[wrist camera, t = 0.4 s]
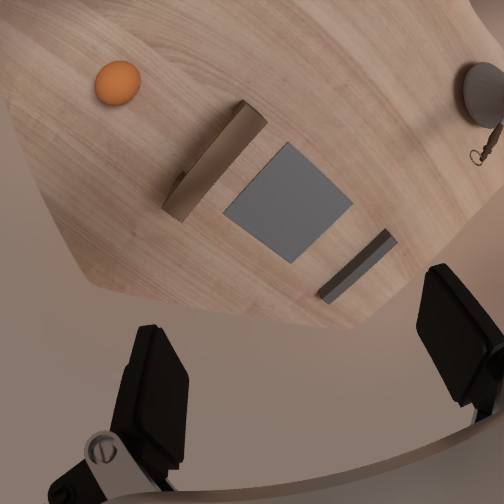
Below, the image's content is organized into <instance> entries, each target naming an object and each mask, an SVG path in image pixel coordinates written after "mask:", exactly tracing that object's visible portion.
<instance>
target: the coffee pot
mask: <svg viewBox="0 0 504 504" xmlns="http://www.w3.org/2000/svg"><path fill="white" fill-rule="evenodd" d="M463 95H464V101H465V105H466V108H467V110H468V112H469V114H470V115H471V116H472V118H473V119H474V120H475V121H476V123H478V124H479V125H481V126H482V127H484V128H488V129H492V128H495V129H494V131H493V132H492V133H491V135H490V136H489V139H488V142H487V145H485V146H484V147H483V150H484V151H483V152H482V153H481V154H480V153H479V152H478V151H476V150H471V152H472V151H475V152H477V153H478V154H479V155H480V161H481V162H482V163H483V161H484V160H485V159H486V158H487V155H488V154H491V152H492V150H491V149H492V148H493V147H494V145H495V144H496V143H497V141H498V139H499V136H500V134H501V131H502V129H503V126H504V72H502V71H501V70H500V69H498V68H497V67H496V66H494V65H492V64H490V63H486V62H481V63H478V64H476V65H474V66H473V67H472V68H471V69H470V70H469V71H468V73H467V74H466V76H465V80H464V86H463ZM471 152H470V158H471ZM471 160H472V162H473V163H474V164H475V165H477V166H481V165H482V163H481V164H479V165H478V164H476V163H475V162H474V161H473V159H472V158H471Z"/></svg>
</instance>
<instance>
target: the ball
mask: <svg viewBox="0 0 504 504" xmlns="http://www.w3.org/2000/svg"><path fill="white" fill-rule="evenodd" d="M140 83H141V78H140V74H139V71H138V70H137V68H136V67H135V66H134V65H133V64H131V63H129V62H127V61H114V62H111V63H109V64H107V65H106V66H104V67H103V68H102V69H101V70H100V72H99V73H98V75H97V77H96V80H95V91H96V94H97V96H98V97H99V98H100V99H101V100H102V101H103V102H105V103H107V104H110V105H121V104H124V103H126V102H128V101H130V100H131V99H132V98H133V97H134V96H135V95H136V93H137V92H138V90H139V87H140Z"/></svg>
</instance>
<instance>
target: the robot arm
mask: <svg viewBox="0 0 504 504" xmlns="http://www.w3.org/2000/svg"><path fill="white" fill-rule="evenodd" d="M416 329H417V333H418V335H419V337H420V338H421V340H422V342H423V344H424V345H425V347H426V349H427V351H428V353H429V354H430V356H431V358H432V360H433V362H434V364H435V366H436V367H437V369H438V371H439V373H440V375H441V377H442V379H443V381H444V383H445V385H446V386H447V389H448V391H449V392H450V395H451V397H452V399H453V400H454V401H455V402H458V403H459V405H460V407H463V406H465V405H468V404H470V403H472V404H473V406H474V407H475V409H474V413H473V417H472V422H471V425H470V426H469V427H467V428H464V429H462V430H460V431H458V432H456V433H454V434H452V435H449V436H447V437H445V438H442V439H440V440H438V441H435V442H433V443H430V444H428V445H425V446H423V447H420V448H418V449H415V450H412V451H410V452H407V453H404V454H401V455H399V456H396V457H393V458H390V459H387V460H384V461H380V462H377V463H374V464H370V465H367V466H364V467H360V468H357V469H353V470H349V471H345V472H341V473H336V474H332V475H328V476H323V477H319V478H313V479H308V480H303V481H297V482H291V483H285V484H278V485H271V486H262V487H253V488H243V489H229V490H212V491H178V490H177V489H176V488H175V487H174V486H173V485H172V483H171V482H170V481H169V480H168V479H167V477H168V470H179V463H181V462H183V459H184V445H185V430H186V415H187V402H188V390H189V377H188V374H187V372H186V370H185V368H184V367H183V365H182V363H181V361H180V359H179V358H178V356H177V354H176V352H175V351H174V349H173V347H172V345H171V343H170V342H169V340H168V338H167V336H166V334H165V332H164V330H163V329H162V328H158V327H157V325H155V324H153V325H146V326H140V327H139V329H138V331H137V335H136V338H135V342H134V346H133V349H132V353H131V356H130V361H129V364H128V365H127V366H126V367H125V369H124V372H123V376H122V380H121V384H120V388H119V392H118V396H117V400H116V404H115V409H114V413H113V418H112V422H111V427H110V431H100V432H97V433H95V434H94V435H92V436H91V437H90V438H89V440H88V441H87V443H86V445H85V448H84V456H85V459H84V460H82V461H81V462H80V463H78V464H77V465H76V466H74V467H73V468H72V469H71V470H69V471H68V472H66V473H65V474H64V475H62V476H61V477H60V478H59V479H57V480H56V481H54V483H52V485H51V486H50V488H49V491H48V501H49V503H48V504H504V335H503V334H502V332H501V331H500V330H499V328H498V327H497V326H496V325H495V323H494V322H493V320H492V319H491V318H490V316H489V315H488V314H487V312H486V311H485V310H484V309H483V308H482V306H481V305H480V304H479V302H478V301H477V300H476V299H475V297H474V296H473V295H472V294H471V292H470V291H469V290H468V289H467V288H466V287H465V285H464V284H463V283H462V282H461V281H460V279H459V278H458V277H457V276H456V275H455V274H454V273H453V271H452V270H451V269H450V268H449V267H448V266H447V265H446V264H445V263H442V264H438V265H435V266H432V267H430V268H429V271H428V272H426V274H425V280H424V286H423V292H422V298H421V303H420V308H419V313H418V319H417V323H416Z"/></svg>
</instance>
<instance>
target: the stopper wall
mask: <svg viewBox="0 0 504 504" xmlns="http://www.w3.org/2000/svg"><path fill="white" fill-rule="evenodd" d="M397 243H398V242H397V241H396V240H395V239H394V237H393V236H392V235H391V234H390V233H389V232H388V231H387V230H386V229H385V230H383V231H382V232H381V233H380V234H379V235H378V236H377V237H376V238H375V239H374V240H373V241H372V242H371V243H370V244H369V245H368V246H367V247H366V248H365V249H364V250H363V251H361V252H360V253H359V254H358V255H357V256H356V257H355V258H354V259H353V260H352V261H351V262H350V263H349V264H347V265H346V266H345V267H344V268H343V269H342V270H341V271H340V272H339V273H338V274H337V275H335V276H334V277H333V278H332V279H331V280H330V281H329V282H328V283H327V284H325V285H324V286H323V287H322V288H321V289H320V290H319V293H320V296H321V299H322V300H323V301H325V302H326V303H327V304H330V303H332V302H333V301H334V300H335V299H336V298H337V297H339V296H340V295H341V294H342V293H343V292H344V291H346V290H347V289H348V288H349V287H350V286H351V285H352V284H354V283H355V282H356V281H357V280H358V279H359V278H360V277H361V276H362V275H364V274H365V273H366V272H367V271H368V270H369V269H370V268H371V267H372V266H373V265H375V264H376V263H377V262H378V261H379V260H380V259H381V258H382V257H383V256H384V255H385V254H386V253H387V252H388V251H390V250H391V249H392V248H393V247H394V246H395V245H396V244H397Z"/></svg>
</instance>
